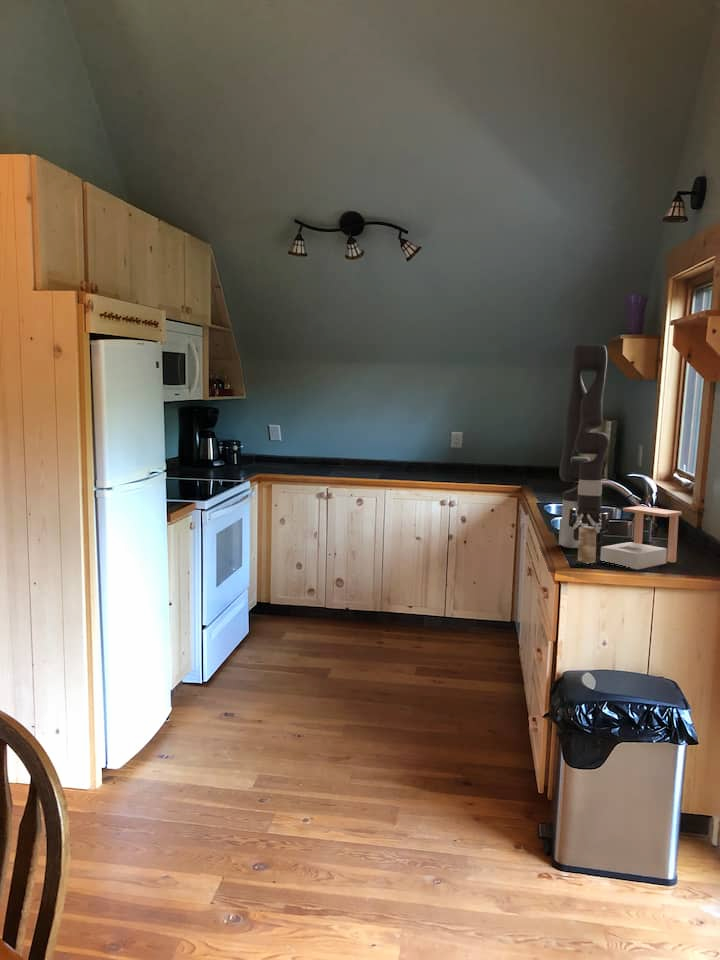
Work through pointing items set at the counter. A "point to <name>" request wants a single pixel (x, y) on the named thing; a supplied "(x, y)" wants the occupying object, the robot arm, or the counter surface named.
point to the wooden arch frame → (672, 514)
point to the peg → (587, 544)
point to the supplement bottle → (644, 528)
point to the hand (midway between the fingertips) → (587, 542)
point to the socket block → (634, 555)
